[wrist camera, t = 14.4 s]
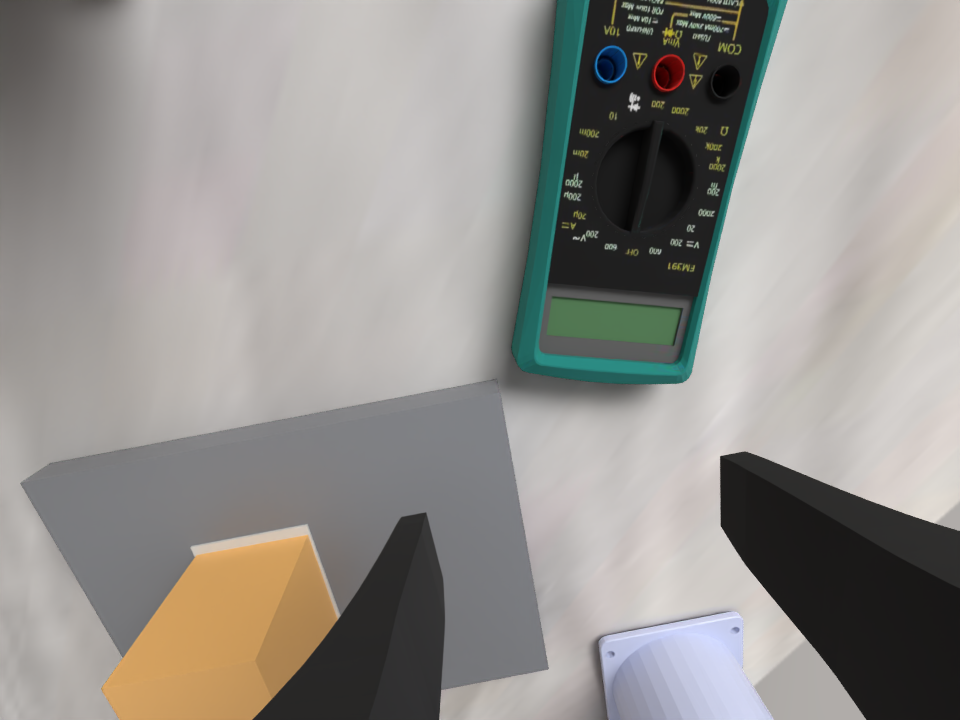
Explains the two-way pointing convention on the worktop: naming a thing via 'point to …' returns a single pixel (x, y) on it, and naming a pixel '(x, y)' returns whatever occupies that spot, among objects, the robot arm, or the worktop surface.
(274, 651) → the block
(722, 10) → the digital multimeter
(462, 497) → the grey flat plate
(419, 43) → the worktop surface
